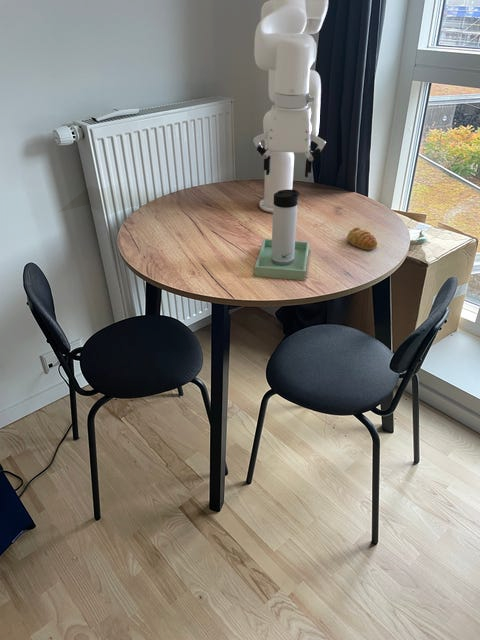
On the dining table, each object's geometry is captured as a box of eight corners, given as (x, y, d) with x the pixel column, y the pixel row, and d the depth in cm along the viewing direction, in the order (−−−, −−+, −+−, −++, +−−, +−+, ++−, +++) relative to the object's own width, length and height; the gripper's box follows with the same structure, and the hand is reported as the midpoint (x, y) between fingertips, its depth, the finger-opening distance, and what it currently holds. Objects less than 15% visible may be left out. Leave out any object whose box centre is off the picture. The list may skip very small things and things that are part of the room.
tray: (263, 247, 143) (263, 238, 141) (308, 250, 141) (309, 241, 140) (254, 276, 129) (254, 266, 128) (304, 280, 127) (305, 271, 126)
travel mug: (288, 268, 131) (292, 197, 120) (267, 262, 134) (269, 192, 123) (298, 259, 136) (303, 189, 124) (277, 253, 138) (280, 184, 127)
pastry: (382, 247, 142) (384, 235, 140) (365, 253, 140) (367, 241, 137) (360, 235, 149) (362, 224, 147) (343, 241, 146) (345, 229, 144)
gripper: (329, 98, 113) (322, 171, 123) (256, 95, 115) (255, 167, 125) (328, 105, 107) (321, 181, 117) (251, 103, 109) (250, 177, 119)
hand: (287, 174), depth 121 cm, fingers open, 9 cm apart
